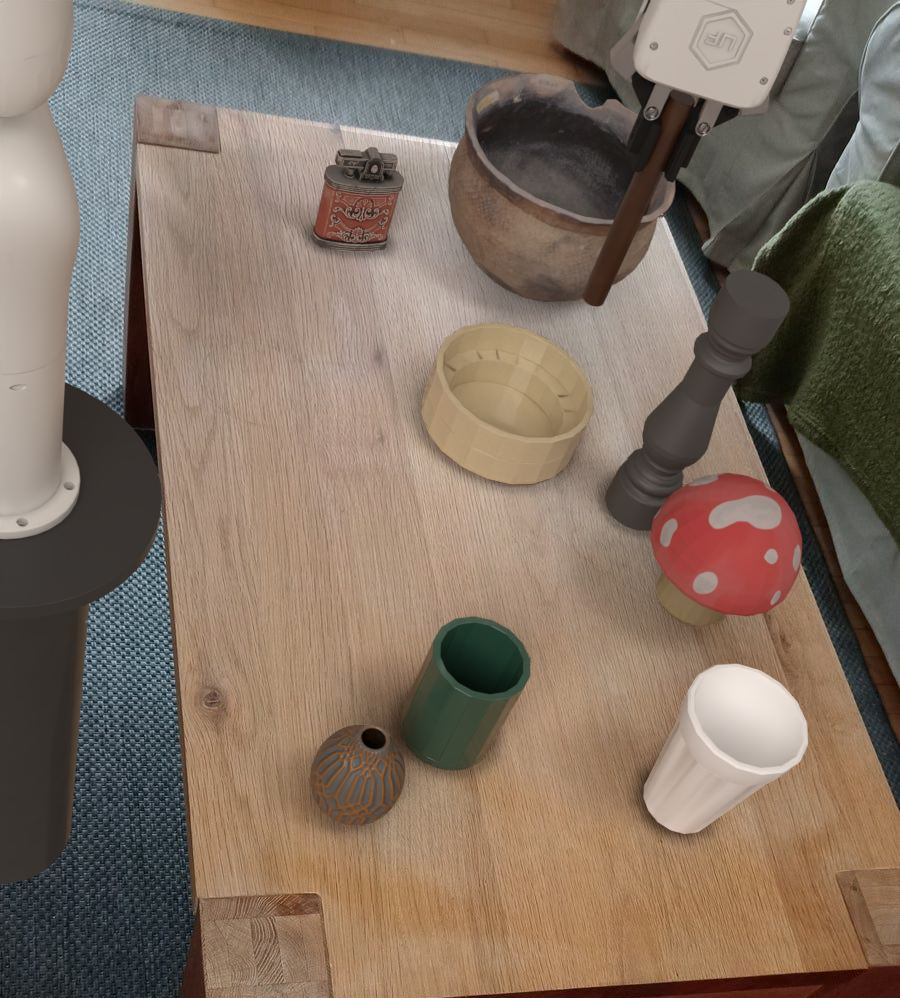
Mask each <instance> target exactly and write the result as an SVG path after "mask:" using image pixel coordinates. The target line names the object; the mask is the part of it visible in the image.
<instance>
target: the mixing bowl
mask: <svg viewBox="0 0 900 998" xmlns="http://www.w3.org/2000/svg"><path fill="white" fill-rule="evenodd" d="M594 405H595V404H594V391H593V388H592V385H591V384H590V382H589V379H588V377H587V375H586V373H585V372H584V370H583V369H582V368H581V366H580V365H579V364H578V363H577V361H576V360H575V359H574V358H573V356H571V355H570V354H569V353H568V352H567V351H565V350H564V349H562V348H561V347H560V346H558V344H556V343H555V342H553V341H551V340H550V339H548V338H546V337H544V336H542V335H540V334H538V333H536V332H534V331H532V330H529V329H527V328H523V327H519V326H515V325H511V324H508V323H499V322H498V323H497V322H479V323H474V324H470V325H466V326H462V327H459V328H458V329H457V330H455V331H454V332H452V333H450V335H448V336H446V337H445V338H444V340H443V342H442V343H441V346H440V347H439V348H438V351H437V352H436V355H435V358H434V362H433V364H432V367H431V370H430V372H429V376H428V378H427V381H426V383H425V387H424V390H423V393H422V396H421V410H420V411H421V413H420V414H421V418H422V420H423V422H424V425H425V427H426V431H427V433H428V435H429V437H430V438H431V439H432V440H433V442H434V443H435V445H437V447H438V449H440V451H441V452H442V453H444V455H446V456H447V457H448V458H450V459H451V460H452V461H454V462H455V463H456V464H457V465H459V466H460V467H462V468H463V469H464V470H467V471H469V472H471V473H473V474H475V475H477V476H480V477H482V478H483V479H485V480H486V479H487V480H492V481H495V482H500V483H503V484H508V485H534V484H537V483H541V482H544V481H547V480H550V479H552V478H555V477H556V476H557V475H558V474H559V473H560V472H561V471H563V470H564V469H565V468H566V467H567V466H568V465H569V462H570V461H571V458H572V457H573V455H574V452H575V450H576V448H577V446H578V444H579V443H580V440H581V439H582V437H583V434H584V432H585V430H586V428H587V426H588V425H589V423H590V420H591V418H592V415H593V413H594V410H595V407H594Z"/></svg>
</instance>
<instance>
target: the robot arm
mask: <svg viewBox="0 0 900 998" xmlns="http://www.w3.org/2000/svg"><path fill="white" fill-rule="evenodd" d="M807 2H808V0H643V1H642V4H641V6H640V8H639V11H638V14H637V15H636V18H635V21H634V23H633V25H632V26H631V27H630V28H629V29H628V30H627V31H626V33H625V34H624V35H623V36H622V37H621V38H620V39H619V40H618V41H617V42H616V44H615V45H614V46H613V47H612V48H611V49H610V51H609V64H610V65H609V66H610V67H611V68H612V69H613V70H614V71H615V72H616V73H617V74H618V75H620V77H622V79H624V80H625V81H626V82H628V83H629V84H630V85H631V87H632V89H633V91H634V94H635V96H636V98H637V100H638V102H639V105H640V109H639V112H638V113H637V114H638V117H637V119H636V121H635V124H634V126H633V128H632V131H631V133H630V136H629V139H628V142H627V151H629V152H631V158H632V171H635V172H638V173H639V172H640V171H643V169H644V167H645V165H646V162H647V160H648V158H649V156H650V153H651V151H652V149H653V146H654V144H655V142H656V140H657V137H658V135H659V133H660V131H661V127H662V122H661V115H662V113H663V111H662V109H663V107H664V104H665V102H666V100H667V97H668V95H669V93H670V91H671V90H673V89H675V90H678V91H681V92H684V93H687V94H690V95H691V96H693V97H696V99H695V104H694V107H693V109H692V111H691V113H690V115H689V117H688V120H687V122H686V124H685V126H684V128H683V131H682V133H681V135H680V137H679V139H678V142H677V144H676V146H675V148H674V150H673V153H672V155H671V157H670V159H669V161H668V164H667V166H666V168H665V170H664V176H665V178H666V180H667V181H669V182H672V183H673V182H674V181H675V182H676V179H677V177H678V175H679V172H680V171H681V169H682V168H683V169H687V168H688V166H689V164H690V162H691V160H692V159H693V156H694V154H695V151H696V150H697V147H698V145H699V143H700V141H701V139H702V137H706V136H708V135H710V134H711V132H712V131H713V129H715V128H716V127H718V126H720V125H722V124H724V123H726V122H728V121H732V120H733V119H735V118H737V116H740V117H747V116H748V117H749V116H759V115H765V114H766V113H767V112H768V111H769V107H770V106H769V105H770V95H771V90H772V88H773V85H774V84H775V81H776V79H777V78H778V75H779V73H780V71H781V68H782V67H783V64H784V61H785V59H786V56H787V54H788V52H789V49H790V47H791V44H792V41H793V39H794V37H795V34H796V32H797V28H798V26H799V24H800V21H801V18H802V17H803V13H804V10H805V8H806V6H807ZM74 15H75V14H74V0H0V539H16V538H24V537H29V536H33V535H37V534H40V533H42V532H44V531H47V530H49V529H51V528H53V527H54V526H56V525H57V524H59V523H60V522H62V521H63V520H64V519H65V518H66V517H67V516H68V515H69V514H70V512H71V511H72V509H73V508H74V506H75V504H76V502H77V499H78V496H79V491H80V471H79V467H78V464H77V462H76V459H75V457H74V456H73V454H72V452H71V451H70V449H69V448H68V447H67V446H66V445H65V444H64V443H63V442H62V432H63V410H64V388H65V382H66V368H67V367H66V364H67V363H66V362H67V345H68V344H67V343H68V317H69V315H68V314H69V302H70V301H69V300H70V292H71V283H72V277H73V272H74V267H75V263H76V260H77V259H76V258H77V255H78V250H79V244H80V238H81V237H80V236H81V214H80V213H81V212H80V205H79V199H78V194H77V190H76V185H75V180H74V178H73V177H74V176H73V174H72V170H71V167H70V165H69V164H70V163H69V161H68V157H67V154H66V151H65V148H64V144H63V141H62V138H61V135H60V132H59V129H58V127H57V126H56V123H55V120H54V117H53V113H52V110H51V107H50V103H49V101H48V100H49V99H50V98H51V96H52V95H53V94H55V91H56V90H57V89H58V88H59V86H60V84H61V82H62V80H63V78H64V76H65V73H66V71H67V69H68V65H69V62H70V56H71V52H72V48H73V39H74V27H75V18H74V17H75V16H74Z"/></svg>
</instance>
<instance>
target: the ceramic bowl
mask: <svg viewBox="0 0 900 998" xmlns="http://www.w3.org/2000/svg"><path fill="white" fill-rule="evenodd" d="M638 114H639V113H636V112H634V111H632V110H630V109H629V108H628V107H626V106H625V105H624V104H623V103H622V102H620V101H619V100H618V99H615V98H613V99H612V98H611V99H606V100H605V102H604V103H603V104H602V105H600V106H595V107H590V106H588V105H587V104H586V103H585V102H584V101H583V100H582V98H581V97H580V95H579V94H578V91H577V89H576V86H575V81H574V80H571V79H570V78H567V77H566V78H565V77H562V76H559V75H555V74H552V73H549V72H523V73H515V74H511V75H507V76H504V77H501V76H500V77H497V78H495V79H493V80H491V81H490V82H486V83H483V85H481V86H480V87H479V88H478V89H477V90H476V91H475V92H473V94H472V95H470V97H469V99H468V102H467V105H466V107H465V114H464V133H463V134H462V136H461V139H459V142H458V144H457V146H456V148H455V151H454V152H453V156H452V159H451V161H450V167H449V173H448V180H447V181H448V183H447V184H448V186H447V187H448V189H447V190H448V191H447V192H448V194H447V197H448V201H449V206H450V212H451V213H450V214H451V219H452V221H453V225H454V227H455V230H456V232H457V234H458V236H459V237H460V240H461V241H462V243H463V245H464V246H465V248H466V250H467V251H468V253H469V254H470V256H471V257H472V259H473V261H474V262H475V264H476V265H477V266H478V268H480V270H481V271H482V272H483V274H485V275H486V276H487V277H488V278H490V279H491V280H492V281H494V282H495V283H496V284H498V285H499V286H500V287H501V288H503V289H505V290H508V291H510V292H512V293H514V294H516V295H518V296H520V297H523V298H525V299H529V300H533V301H538V302H544V303H558V302H559V303H560V302H575V301H579V300H583V298H582V293H583V290H584V288H585V286H586V283H587V281H588V279H589V276H590V274H591V272H592V270H593V267H594V265H595V263H596V260H597V258H598V256H599V254H600V251H601V249H602V247H603V244H604V242H605V240H606V237H607V235H608V233H609V231H610V228H611V226H612V224H613V221H614V219H615V217H616V214H617V212H618V210H619V208H620V205H621V203H622V201H623V198H624V196H625V194H626V192H627V189H628V187H629V185H630V182H631V180H632V178H633V175H634V173H635V171H632V158H631V152H629V151H627V142H628V139H629V136H630V133H631V131H632V128H633V126H634V124H635V121H636V119H637V117H638ZM675 194H676V180H675V181H674V182H673V183H672V182H669V181H667V180H666V178H665V176H664V172H663V175H662V177H661V179H660V181H659V183H658V186H657V188H656V190H655V192H654V194H653V196H652V199H651V201H650V203H649V205H648V207H647V210H646V212H645V214H644V216H643V218H642V221H641V223H640V225H639V227H638V229H637V232H636V234H635V236H634V238H633V240H632V243H631V245H630V247H629V249H628V251H627V254H626V256H625V258H624V260H623V262H622V265H621V267H620V269H619V271H618V273H617V275H616V278H615V280H614V282H613V284H612V286H615V285H616V284H618V283H619V282H621V281H623V280H624V279H626V278H627V277H628V276H629V275H630V274H632V273H633V272H634V271H635V270H636V269H637V267H638V266H639V265H640V264H641V262H642V261H643V259H644V258H645V257H646V255H647V253H648V251H649V249H650V246H651V243H652V240H653V238H654V235H655V232H656V228H657V224H658V219H659V217H660V216H662V215H663V214H665V213H666V212H667V211H668V210H669V209H670V208H671V206H672V204H673V201H674V199H675Z"/></svg>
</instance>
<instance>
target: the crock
mask: <svg viewBox="0 0 900 998" xmlns="http://www.w3.org/2000/svg"><path fill="white" fill-rule="evenodd" d="M531 676H532V675H531V657H530V655H529V653H528V651H527V649H526V646H525V645H524V643H523V641H521V640H520V639H519V638H518V636H516V634H515V633H514V632H513V631H512V630H511V629H509V628H507V627H506V626H504V625H502V624H501V623H499V622H496V621H495V620H493V619H489V618H484V617H480V616H475V615H474V616H473V615H472V616H464V617H456V618H454V619H452V620H451V621H449V622H448V623H447V622H446V623H445V624H444V625H442V626H441V627H440V628H439V630H438V631H437V633H436V635H435V637H434V638H433V640H432V643H431V645H430V646H429V649H428V652H427V653H426V655H425V658H424V661H423V662H422V665H421V667H420V670H419V671H418V673H417V676H416V678H415V681H414V683H413V685H412V687H411V689H410V692H409V693H408V696H407V698H406V701H405V703H404V706H403V708H402V711H401V714H400V720H399V724H400V725H399V728H400V732H401V735H402V738H403V740H404V742H405V744H406V746H407V747H408V748H409V750H410V751H411V752H412V753H413V754H414V755H415V756H416V757H417V758H418V759H420V760H421V761H422V762H424V763H426V764H428V765H429V766H432V767H434V768H437V769H440V770H448V771H461V770H465V769H469V768H471V767H473V766H475V765H477V764H478V763H480V762H481V761H482V760H483V759H484V758H485V756H486V755H487V754H488V752H489V751H490V748H492V747H491V746H492V745H493V744H494V742H495V740H496V738H497V736H498V735H499V733H500V731H501V729H502V728H503V725H504V724H505V723H506V721H507V719H508V717H509V715H510V713H511V712H512V710H513V708H514V707H515V705H516V703H517V701H518V699H519V698H520V696H521V695H522V692H523V691H524V689H525V687H526V685H527V683H528V682H529V679H530V677H531Z"/></svg>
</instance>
